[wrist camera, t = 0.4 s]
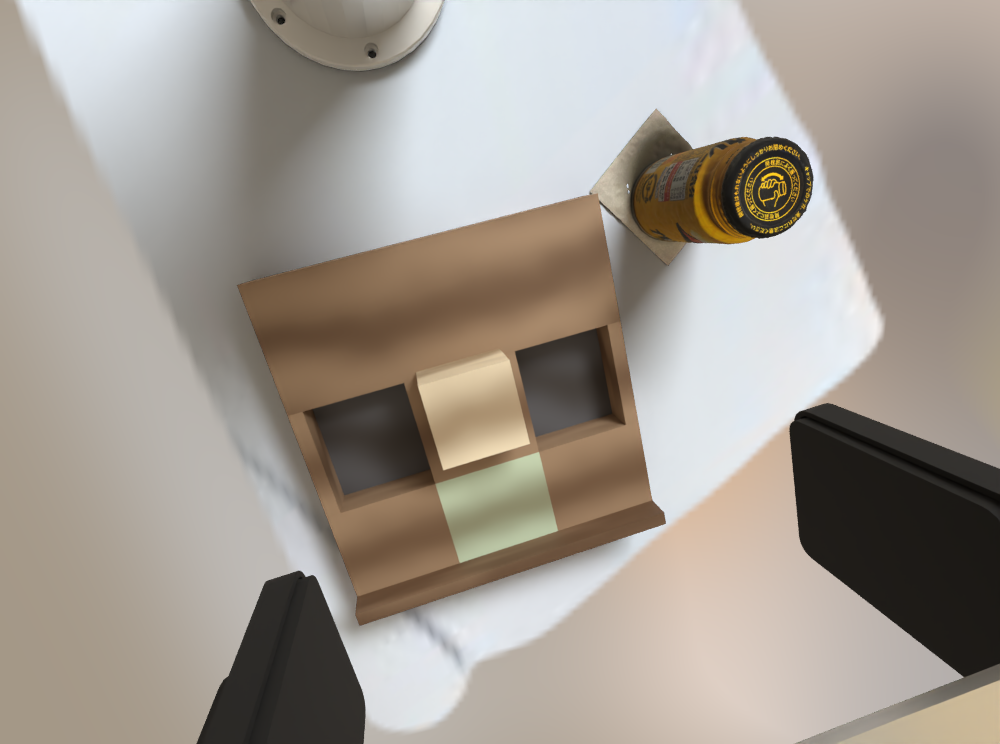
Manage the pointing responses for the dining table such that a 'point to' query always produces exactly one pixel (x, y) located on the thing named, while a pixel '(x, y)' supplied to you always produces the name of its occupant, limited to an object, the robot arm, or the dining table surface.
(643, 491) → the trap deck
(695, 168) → the condiment
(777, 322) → the dining table surface
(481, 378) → the maple block
